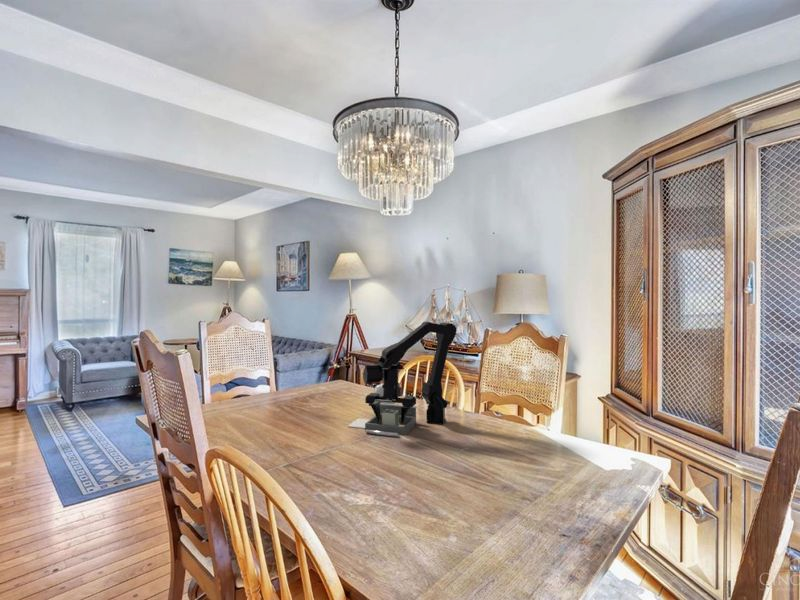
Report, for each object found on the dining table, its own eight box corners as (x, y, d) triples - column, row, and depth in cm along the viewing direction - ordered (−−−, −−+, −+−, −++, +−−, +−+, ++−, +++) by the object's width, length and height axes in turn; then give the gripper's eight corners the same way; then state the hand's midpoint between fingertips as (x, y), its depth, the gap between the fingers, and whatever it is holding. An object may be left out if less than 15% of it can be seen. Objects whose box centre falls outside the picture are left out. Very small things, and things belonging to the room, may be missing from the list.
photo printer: (389, 408, 180) (389, 380, 180) (396, 410, 177) (396, 382, 177) (371, 413, 173) (371, 384, 173) (378, 415, 170) (378, 385, 170)
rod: (398, 436, 145) (398, 432, 145) (397, 437, 144) (397, 433, 144) (367, 432, 149) (367, 428, 149) (365, 434, 147) (365, 430, 147)
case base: (414, 424, 159) (414, 416, 159) (405, 434, 147) (405, 426, 147) (377, 420, 164) (377, 413, 164) (365, 430, 152) (365, 422, 152)
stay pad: (374, 421, 163) (374, 420, 163) (364, 428, 153) (364, 427, 153) (358, 419, 165) (358, 418, 165) (347, 426, 155) (347, 425, 155)
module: (398, 425, 157) (398, 409, 157) (394, 429, 152) (394, 413, 152) (386, 424, 158) (386, 408, 158) (382, 428, 154) (382, 412, 154)
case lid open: (416, 422, 160) (416, 406, 160) (415, 424, 159) (415, 407, 159) (378, 419, 165) (378, 402, 165) (376, 420, 164) (376, 403, 164)
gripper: (420, 378, 160) (419, 418, 160) (375, 375, 166) (375, 414, 166) (412, 384, 149) (412, 427, 149) (364, 381, 155) (364, 422, 155)
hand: (390, 422), depth 155 cm, fingers open, 9 cm apart
